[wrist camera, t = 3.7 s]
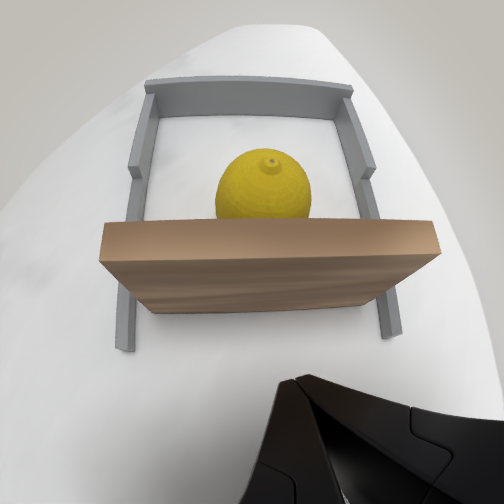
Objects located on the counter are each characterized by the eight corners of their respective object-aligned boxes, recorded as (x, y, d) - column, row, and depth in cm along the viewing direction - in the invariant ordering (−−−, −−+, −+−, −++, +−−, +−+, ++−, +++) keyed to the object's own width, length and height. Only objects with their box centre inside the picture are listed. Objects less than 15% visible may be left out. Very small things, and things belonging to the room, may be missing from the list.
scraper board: (364, 304, 20) (441, 253, 12) (151, 312, 19) (98, 261, 11) (360, 282, 21) (432, 220, 12) (152, 288, 19) (104, 222, 11)
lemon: (276, 285, 21) (303, 230, 13) (202, 248, 21) (191, 178, 14) (307, 220, 23) (340, 148, 15) (239, 189, 23) (246, 109, 16)
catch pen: (391, 337, 20) (422, 326, 16) (122, 350, 18) (99, 343, 14) (339, 115, 28) (351, 85, 24) (152, 112, 26) (146, 80, 22)
